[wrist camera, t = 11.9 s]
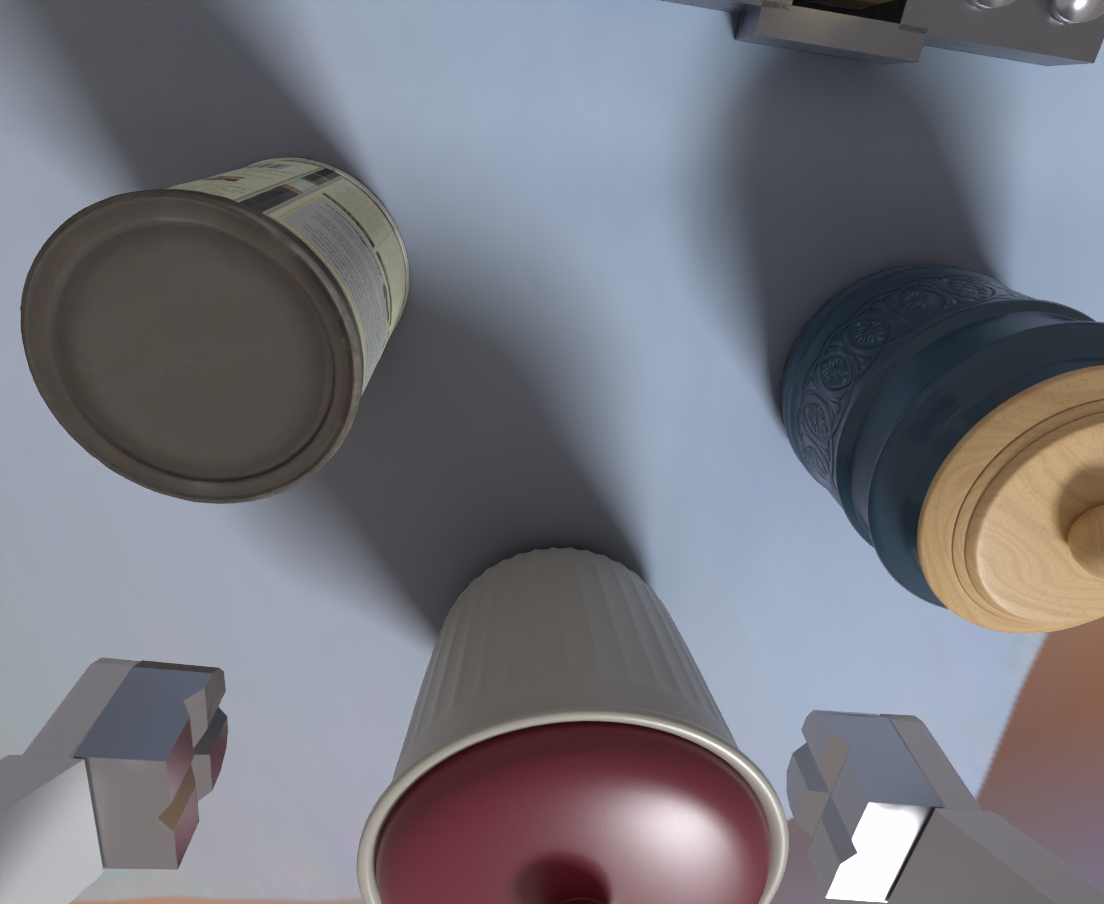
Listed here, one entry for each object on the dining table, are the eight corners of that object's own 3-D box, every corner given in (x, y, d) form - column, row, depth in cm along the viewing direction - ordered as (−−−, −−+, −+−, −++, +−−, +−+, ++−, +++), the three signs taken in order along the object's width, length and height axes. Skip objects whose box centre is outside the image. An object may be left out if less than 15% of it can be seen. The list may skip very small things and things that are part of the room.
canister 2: (1053, 388, 41) (1400, 574, 25) (851, 526, 44) (1045, 768, 28) (943, 202, 36) (1283, 284, 20) (726, 371, 39) (874, 555, 23)
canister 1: (446, 752, 50) (408, 1151, 31) (370, 527, 42) (256, 876, 23) (711, 706, 50) (837, 1083, 31) (683, 469, 42) (828, 778, 23)
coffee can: (296, 407, 39) (193, 556, 26) (148, 240, 35) (-58, 320, 22) (455, 298, 37) (426, 402, 24) (316, 107, 33) (194, 112, 20)
